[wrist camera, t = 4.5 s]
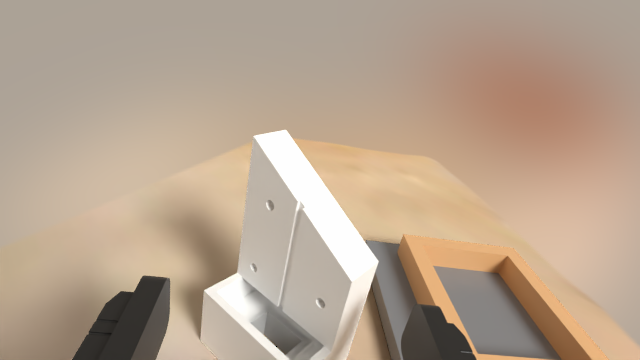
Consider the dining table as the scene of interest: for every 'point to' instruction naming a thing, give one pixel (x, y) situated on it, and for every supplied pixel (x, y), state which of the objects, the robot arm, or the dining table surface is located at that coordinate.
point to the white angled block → (289, 267)
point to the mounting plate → (476, 299)
